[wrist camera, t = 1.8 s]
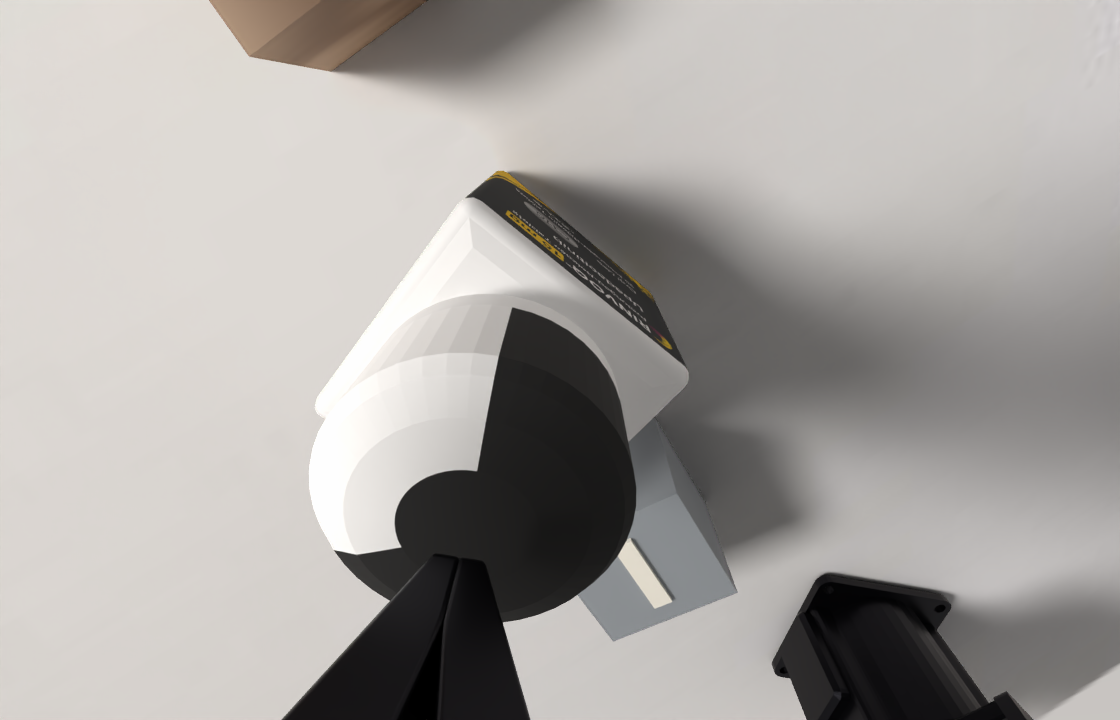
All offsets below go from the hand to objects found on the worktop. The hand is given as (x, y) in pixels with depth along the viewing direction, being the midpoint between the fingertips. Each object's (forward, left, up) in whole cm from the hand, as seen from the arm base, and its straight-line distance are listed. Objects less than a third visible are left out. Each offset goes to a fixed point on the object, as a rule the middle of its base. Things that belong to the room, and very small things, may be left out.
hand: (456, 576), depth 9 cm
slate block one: (-6, +7, -13) cm, 16 cm away
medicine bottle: (0, 0, -13) cm, 13 cm away
